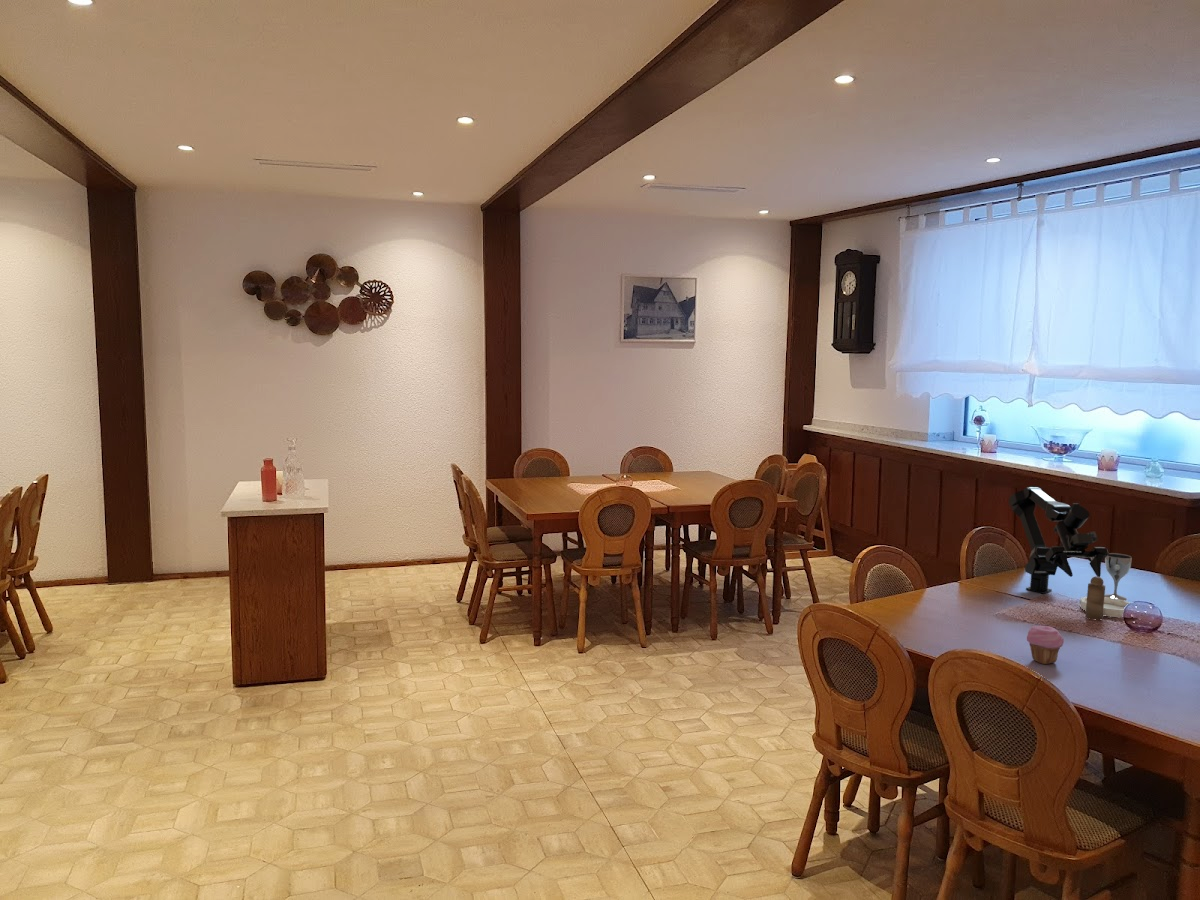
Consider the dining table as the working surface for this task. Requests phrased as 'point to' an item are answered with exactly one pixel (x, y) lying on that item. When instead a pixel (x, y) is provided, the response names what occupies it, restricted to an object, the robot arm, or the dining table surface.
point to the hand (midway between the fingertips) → (1085, 576)
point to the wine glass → (1117, 570)
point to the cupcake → (1044, 643)
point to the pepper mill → (1095, 599)
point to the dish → (1109, 606)
